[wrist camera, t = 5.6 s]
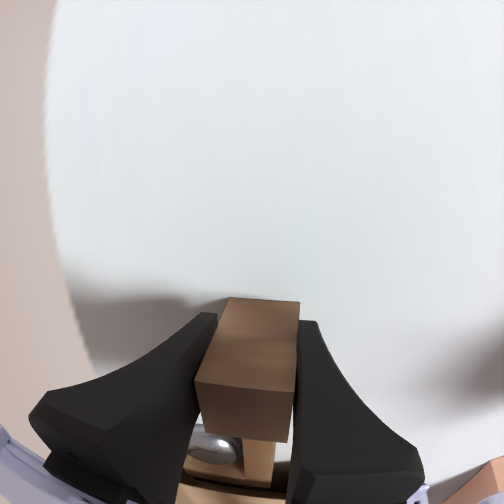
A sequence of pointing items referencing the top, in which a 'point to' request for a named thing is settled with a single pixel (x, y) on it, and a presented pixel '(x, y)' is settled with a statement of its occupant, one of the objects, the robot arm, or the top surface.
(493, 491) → the utensil crock
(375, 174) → the top surface
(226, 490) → the bread box
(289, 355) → the wooden mallet
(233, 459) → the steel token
